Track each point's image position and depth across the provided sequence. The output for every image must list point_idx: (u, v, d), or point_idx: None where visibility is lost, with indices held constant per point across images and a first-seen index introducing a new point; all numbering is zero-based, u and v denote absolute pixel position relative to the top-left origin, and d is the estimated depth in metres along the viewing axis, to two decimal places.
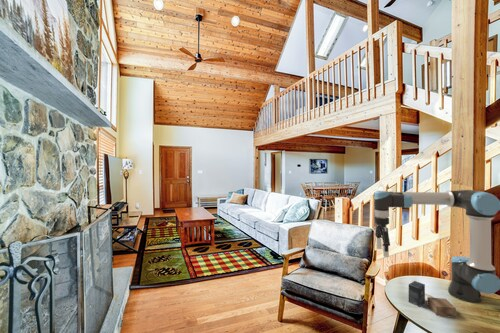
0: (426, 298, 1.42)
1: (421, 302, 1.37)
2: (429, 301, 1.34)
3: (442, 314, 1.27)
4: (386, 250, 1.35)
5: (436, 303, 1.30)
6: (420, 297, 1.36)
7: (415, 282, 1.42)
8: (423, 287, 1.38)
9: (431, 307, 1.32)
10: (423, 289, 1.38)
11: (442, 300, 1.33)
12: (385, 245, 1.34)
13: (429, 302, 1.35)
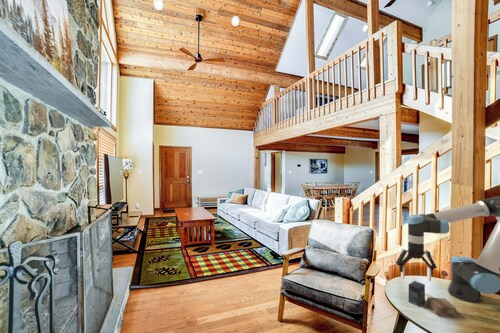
0: (426, 298, 1.42)
1: (421, 302, 1.37)
2: (429, 302, 1.34)
3: (443, 314, 1.27)
4: None
5: (436, 303, 1.30)
6: (420, 297, 1.36)
7: (415, 282, 1.42)
8: (423, 287, 1.38)
9: (431, 307, 1.32)
10: (423, 289, 1.38)
11: (442, 300, 1.33)
12: (396, 263, 1.43)
13: (428, 302, 1.35)
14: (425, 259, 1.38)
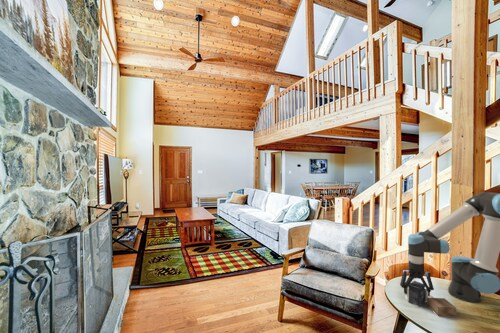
0: None
1: (421, 302, 1.37)
2: (429, 302, 1.34)
3: (443, 314, 1.27)
4: (404, 292, 1.41)
5: (436, 303, 1.30)
6: (420, 297, 1.36)
7: (415, 282, 1.42)
8: (423, 287, 1.38)
9: (431, 307, 1.32)
10: (423, 289, 1.38)
11: (441, 300, 1.33)
12: (400, 285, 1.42)
13: (428, 303, 1.34)
14: (424, 280, 1.38)
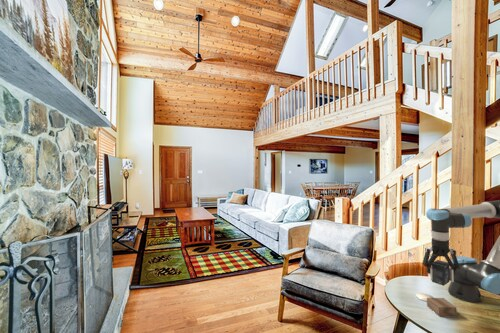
0: (426, 298, 1.42)
1: (446, 281, 1.28)
2: (429, 302, 1.34)
3: (444, 314, 1.27)
4: (427, 271, 1.32)
5: (437, 303, 1.30)
6: (445, 276, 1.27)
7: (438, 261, 1.33)
8: (448, 266, 1.30)
9: (432, 308, 1.32)
10: (448, 268, 1.30)
11: (441, 300, 1.33)
12: (423, 264, 1.34)
13: (428, 303, 1.34)
14: (449, 258, 1.29)
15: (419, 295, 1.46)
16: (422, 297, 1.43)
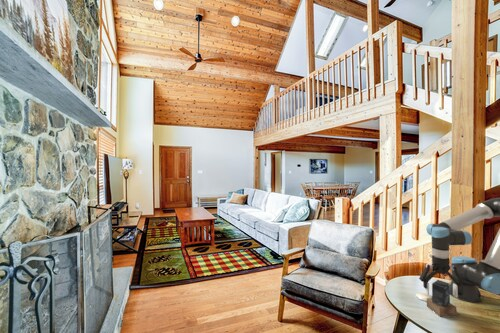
0: (426, 298, 1.42)
1: (446, 302, 1.28)
2: (429, 303, 1.33)
3: (444, 315, 1.26)
4: (424, 286, 1.33)
5: (437, 304, 1.30)
6: (445, 297, 1.27)
7: (439, 281, 1.33)
8: (448, 286, 1.30)
9: (432, 308, 1.31)
10: (448, 288, 1.30)
11: None
12: None
13: (428, 303, 1.34)
14: (451, 275, 1.29)
15: (419, 295, 1.46)
16: (422, 297, 1.43)
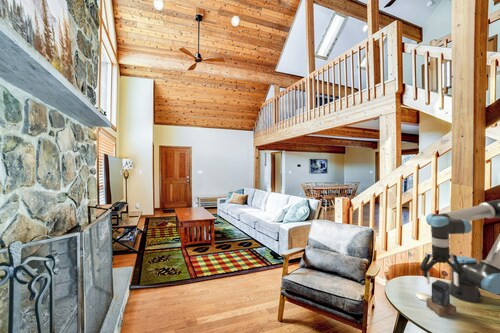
0: (426, 298, 1.42)
1: (446, 302, 1.28)
2: (429, 302, 1.33)
3: (444, 315, 1.27)
4: (424, 275, 1.33)
5: None
6: (445, 297, 1.28)
7: (439, 281, 1.33)
8: (448, 286, 1.30)
9: (432, 308, 1.31)
10: (448, 288, 1.30)
11: None
12: (420, 268, 1.34)
13: (428, 303, 1.34)
14: (451, 263, 1.29)
15: (419, 295, 1.46)
16: (422, 297, 1.43)
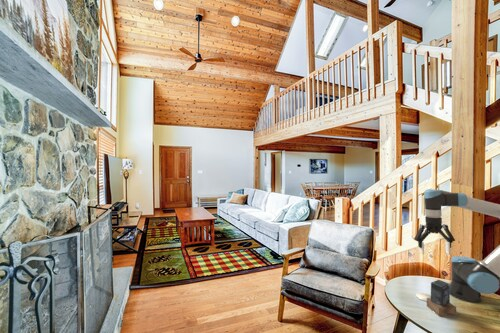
0: (426, 298, 1.42)
1: (445, 302, 1.28)
2: (429, 302, 1.34)
3: (444, 314, 1.27)
4: (419, 246, 1.40)
5: None
6: (444, 296, 1.28)
7: (439, 281, 1.33)
8: (448, 286, 1.29)
9: (432, 308, 1.32)
10: (448, 288, 1.29)
11: None
12: (415, 239, 1.41)
13: (428, 303, 1.34)
14: (443, 233, 1.37)
15: (419, 295, 1.46)
16: (422, 297, 1.43)
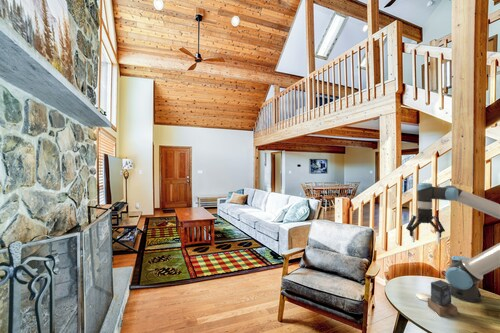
0: (426, 298, 1.42)
1: (445, 302, 1.28)
2: (430, 302, 1.33)
3: (445, 315, 1.26)
4: (410, 234, 1.51)
5: None
6: (443, 297, 1.28)
7: (440, 281, 1.33)
8: (448, 287, 1.29)
9: (432, 308, 1.31)
10: (448, 289, 1.29)
11: None
12: None
13: (429, 303, 1.34)
14: None
15: (419, 295, 1.46)
16: (422, 297, 1.43)
